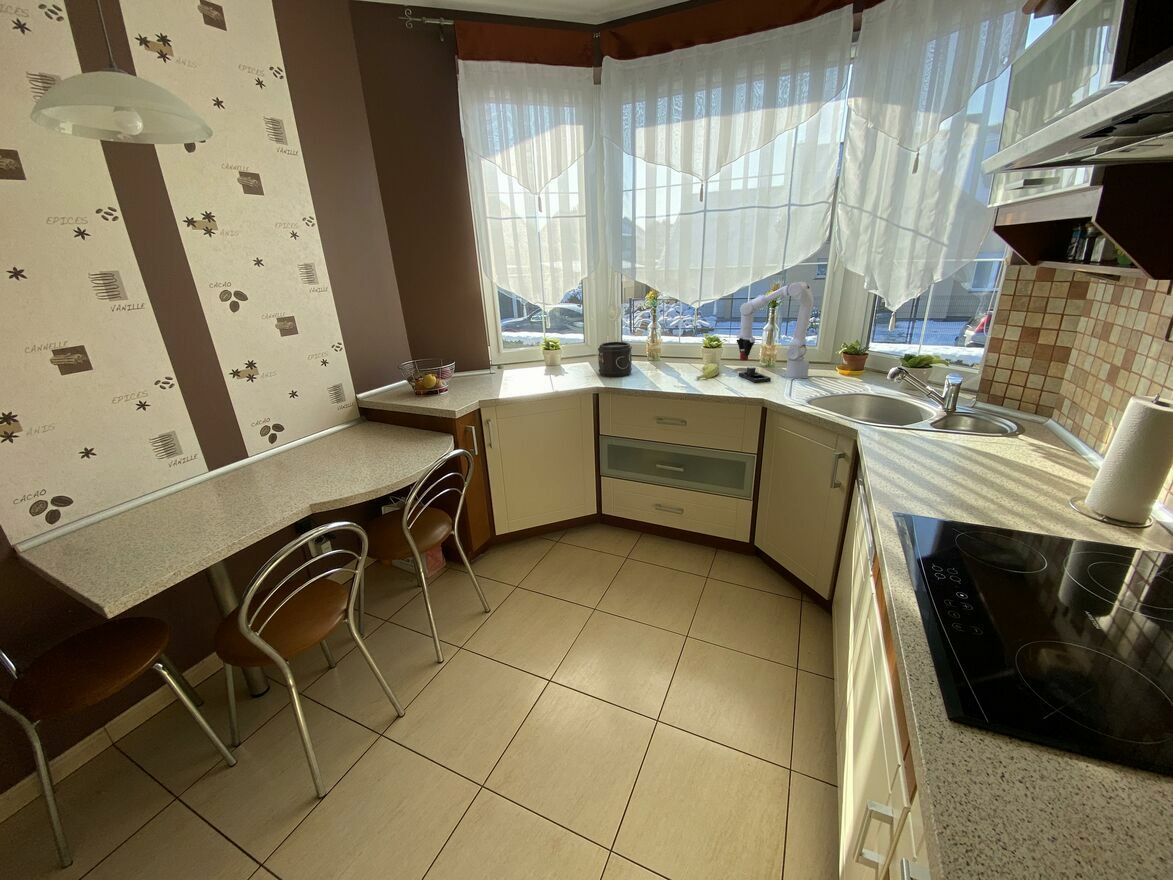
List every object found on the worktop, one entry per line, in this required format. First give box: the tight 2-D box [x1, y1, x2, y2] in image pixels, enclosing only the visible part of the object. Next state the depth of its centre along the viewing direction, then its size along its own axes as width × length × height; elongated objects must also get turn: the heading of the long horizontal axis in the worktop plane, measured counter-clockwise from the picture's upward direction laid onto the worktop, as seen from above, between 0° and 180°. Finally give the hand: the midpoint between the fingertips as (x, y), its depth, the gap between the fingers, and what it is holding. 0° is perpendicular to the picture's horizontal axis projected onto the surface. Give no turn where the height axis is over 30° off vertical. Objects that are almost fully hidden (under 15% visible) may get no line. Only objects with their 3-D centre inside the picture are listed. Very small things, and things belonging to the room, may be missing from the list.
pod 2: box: [746, 365, 757, 375], centre depth 231 cm, size 4×4×5 cm
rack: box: [738, 371, 772, 384], centre depth 229 cm, size 15×8×2 cm, turn 12°
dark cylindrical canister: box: [597, 341, 633, 378], centre depth 252 cm, size 18×18×16 cm
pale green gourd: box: [696, 362, 720, 381], centre depth 241 cm, size 14×6×20 cm
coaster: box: [734, 367, 747, 373], centre depth 247 cm, size 8×8×1 cm
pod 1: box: [739, 349, 749, 362], centre depth 244 cm, size 4×4×5 cm
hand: (744, 354), depth 244 cm, fingers closed on pod 1, 4 cm apart
